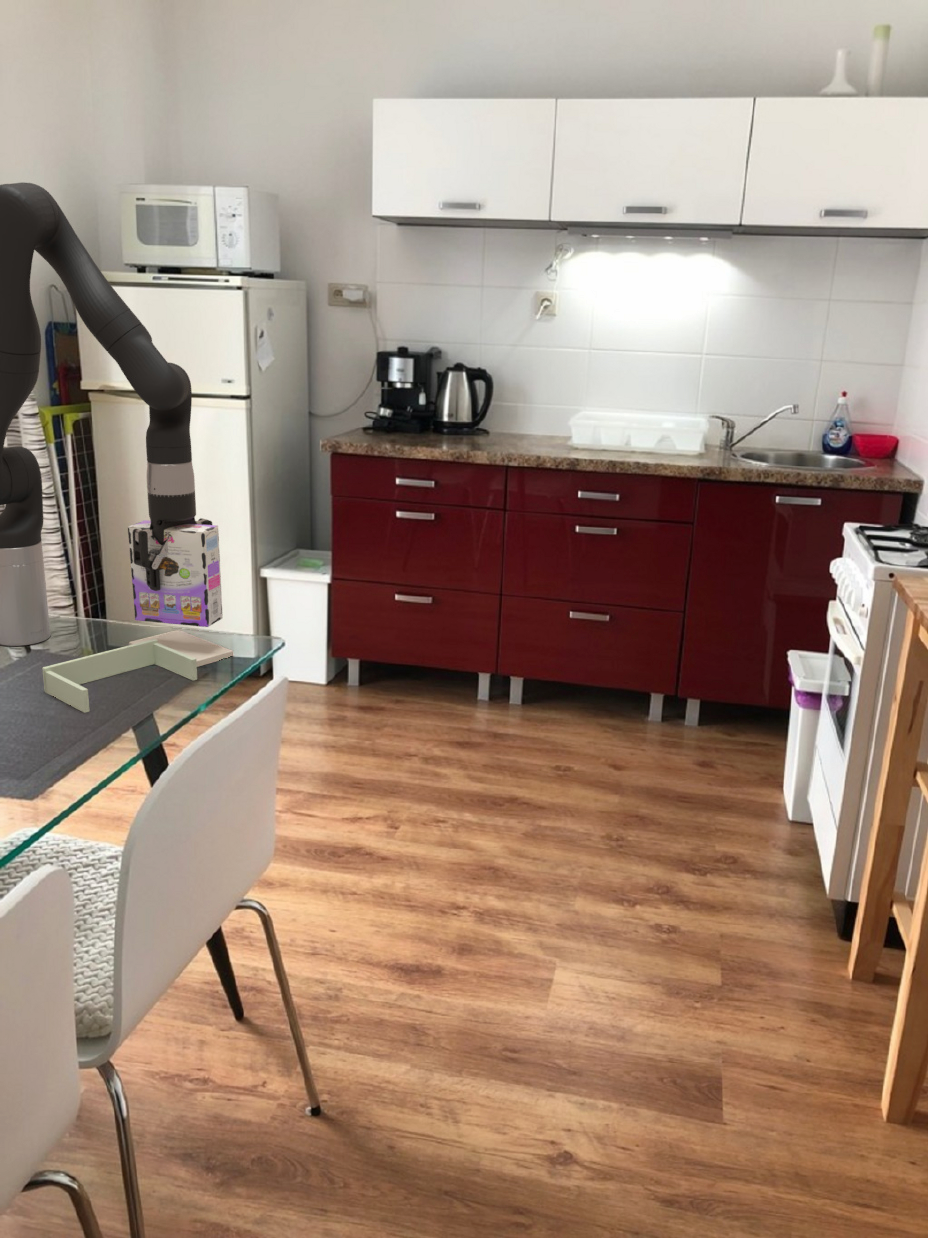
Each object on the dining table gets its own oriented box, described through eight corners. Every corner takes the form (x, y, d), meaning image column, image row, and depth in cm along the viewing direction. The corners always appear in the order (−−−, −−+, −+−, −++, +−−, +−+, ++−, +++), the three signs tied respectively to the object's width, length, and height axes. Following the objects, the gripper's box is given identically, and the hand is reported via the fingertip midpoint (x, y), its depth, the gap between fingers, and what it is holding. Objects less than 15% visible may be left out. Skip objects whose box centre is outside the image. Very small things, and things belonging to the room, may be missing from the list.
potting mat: (129, 647, 180) (128, 642, 180) (178, 634, 188) (178, 629, 187) (183, 670, 170) (183, 665, 170) (233, 656, 178) (233, 651, 177)
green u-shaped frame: (44, 692, 160) (42, 667, 159) (156, 661, 174) (154, 638, 173) (84, 712, 153) (82, 687, 152) (197, 679, 167) (196, 655, 166)
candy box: (224, 618, 178) (220, 524, 173) (208, 628, 173) (203, 531, 168) (151, 611, 181) (145, 518, 176) (133, 620, 176) (126, 525, 171)
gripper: (145, 497, 163) (151, 598, 168) (221, 487, 173) (225, 582, 178) (119, 490, 168) (126, 588, 172) (194, 481, 178) (199, 573, 183)
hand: (176, 585), depth 175 cm, fingers closed on candy box, 8 cm apart
